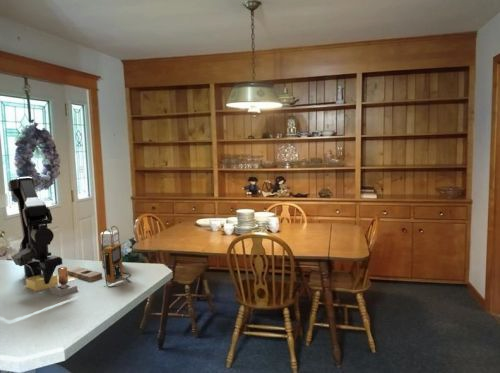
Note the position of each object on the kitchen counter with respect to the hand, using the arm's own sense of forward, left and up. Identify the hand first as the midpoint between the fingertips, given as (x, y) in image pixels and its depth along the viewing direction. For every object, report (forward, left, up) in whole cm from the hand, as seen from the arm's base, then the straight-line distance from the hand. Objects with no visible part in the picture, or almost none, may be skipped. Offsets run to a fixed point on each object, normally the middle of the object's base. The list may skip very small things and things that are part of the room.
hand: (42, 282), depth 139 cm
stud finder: (0, 0, -1) cm, 1 cm away
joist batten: (+5, +13, -2) cm, 14 cm away
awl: (+13, 0, -2) cm, 13 cm away
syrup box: (+1, +28, -2) cm, 29 cm away
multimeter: (+20, +19, -2) cm, 28 cm away
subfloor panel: (0, +3, -2) cm, 4 cm away
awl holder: (+13, 0, -2) cm, 13 cm away
